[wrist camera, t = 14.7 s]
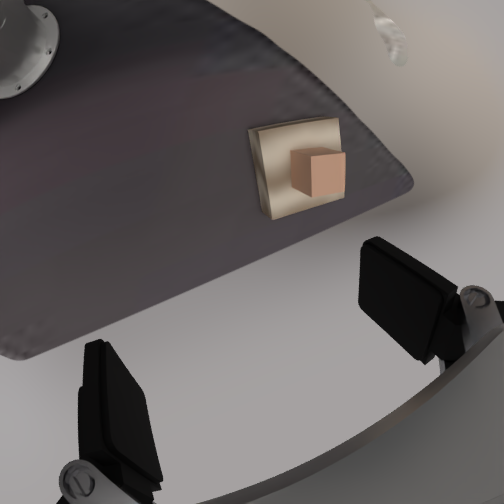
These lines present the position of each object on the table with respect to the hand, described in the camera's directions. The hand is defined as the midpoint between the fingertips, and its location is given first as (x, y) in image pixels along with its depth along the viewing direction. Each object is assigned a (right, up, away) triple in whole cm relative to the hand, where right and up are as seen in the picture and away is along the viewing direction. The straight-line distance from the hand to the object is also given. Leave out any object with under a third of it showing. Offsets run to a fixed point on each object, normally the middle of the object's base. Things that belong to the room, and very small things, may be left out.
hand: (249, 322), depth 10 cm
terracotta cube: (+7, +14, +29) cm, 33 cm away
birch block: (+6, +15, +32) cm, 36 cm away
